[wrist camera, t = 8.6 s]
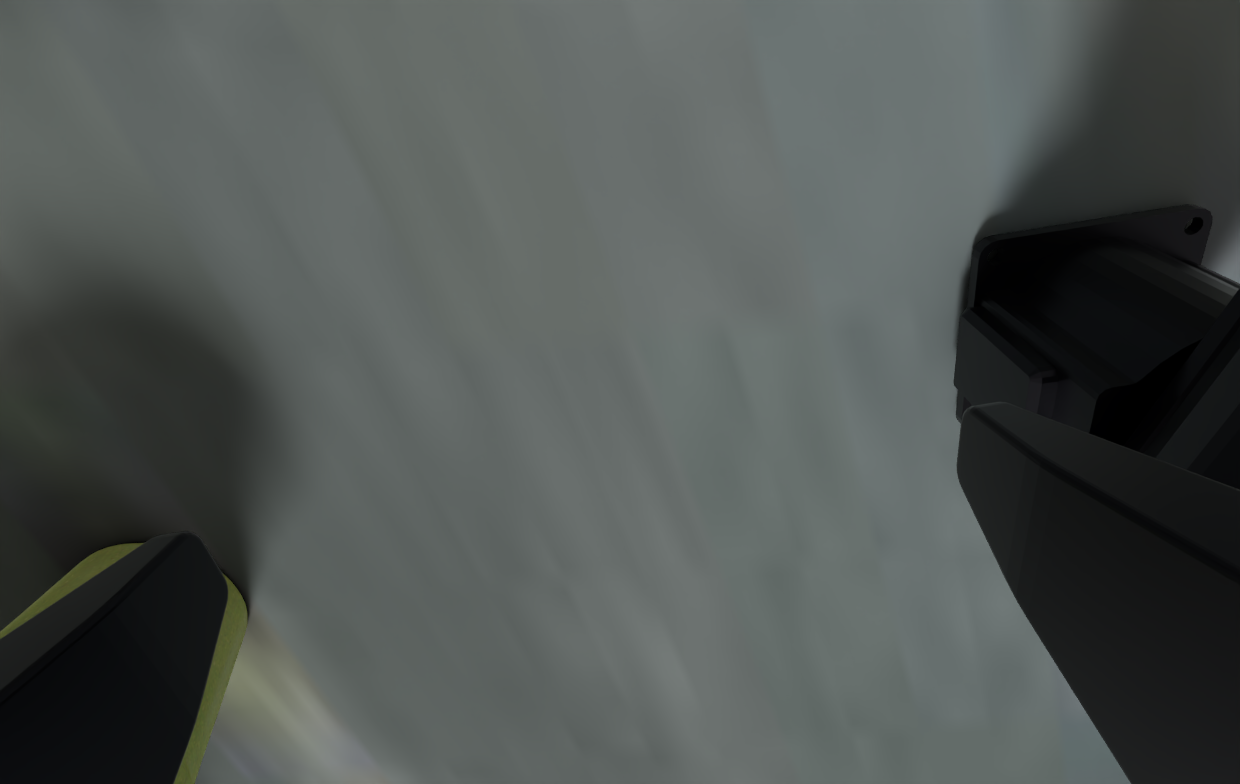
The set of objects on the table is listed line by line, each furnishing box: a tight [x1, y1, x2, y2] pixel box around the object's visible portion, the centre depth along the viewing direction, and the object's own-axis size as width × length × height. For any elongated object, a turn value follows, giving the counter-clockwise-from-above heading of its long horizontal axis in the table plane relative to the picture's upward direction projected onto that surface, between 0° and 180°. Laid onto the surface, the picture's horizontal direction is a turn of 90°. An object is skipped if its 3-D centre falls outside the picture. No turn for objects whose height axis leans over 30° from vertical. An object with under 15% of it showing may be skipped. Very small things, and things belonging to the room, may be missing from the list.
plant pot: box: [0, 543, 247, 784], centre depth 23 cm, size 9×9×9 cm
